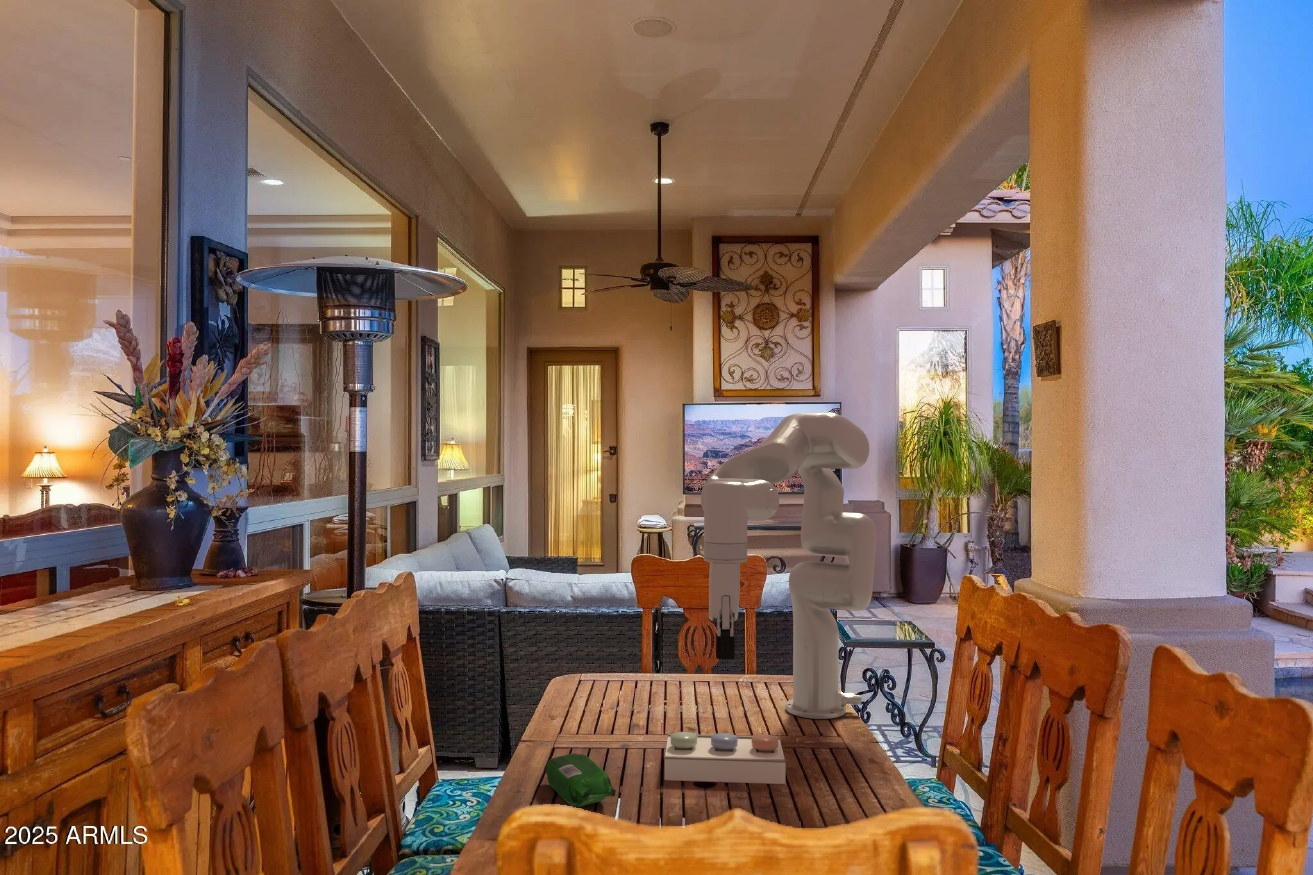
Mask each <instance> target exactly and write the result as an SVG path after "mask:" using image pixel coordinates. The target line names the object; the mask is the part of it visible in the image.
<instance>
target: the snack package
mask: <svg viewBox="0 0 1313 875" xmlns="http://www.w3.org/2000/svg"><path fill="white" fill-rule="evenodd" d="M544 771H545V773H546V778H547V779H546V780H547V782H548V784H549V786H551V788H552V789H553V790H555V792H556V793H557V794H558V795H559V796H560V798H562V799H563V800H564V801H565V802H566V803H567V804H568V805H569V806H571V807H572V806H575V807H578V808H581V807H584V806H587V805H591V804H592V805H593V804H596V803H600V802H602V801H605V799H607V797H611V798H612V797H615V796H616V792H617V789H615V788H614V787H613V785H612V782H611V779H610V778H609V776H608V773H607V772H606V771H605V770H603V769H602V767H600V766H599V765H598V764H597V763H596V762H594V760H593V759H591V758H590V757H589V756H587V755H586V754H584V753H580V752H579V753H577V752H574V753H568V754H564V755H560V756H554V757H553V758H551V759H549V760H548V761H547V763H546V767H545V770H544ZM575 807H574V808H575Z"/></svg>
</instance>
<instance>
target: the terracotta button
mask: <svg viewBox="0 0 1313 875" xmlns="http://www.w3.org/2000/svg"><path fill="white" fill-rule="evenodd" d="M752 736H753V737H752V747H753V748H755V749H758V750H757V752H762V753H772V750H774V749H777V748H778V738H777V737H778V736H776V735H772V734H764V733H763V734H756V735H752Z"/></svg>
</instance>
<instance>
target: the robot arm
mask: <svg viewBox="0 0 1313 875" xmlns="http://www.w3.org/2000/svg"><path fill="white" fill-rule="evenodd" d="M869 455H870V444H869V439H868V436H867V435H866V434H865V432H864V430H862V429H861V428H860V427H859V426H857V425H856V424H855V423H854V422H852V421H851V420H849V419H848V418H846V417H845V416H843V415H840V414H839V413H834V412H807V413H806V412H802V413H793V414H791V415H788V416H786V417H785V418H783V419H782V420H781V421H780V423H778V425H777V426H776V427H775V428H774V430H773V431H772V432H771V433H770V435H768V437H767V438H766V439H765V440H764V441H763V443H761V445H760V446H757V447H754V448H751V449H750V450H749V449H748V450H747V451H745V452H743V453H741V454H739V455H736V456H734V457H732V458H729V459H727V460H726V461H724V462H723V463H721V464H720V465H719V466H718V467H717V468H716V469H715V470H714V471H713V472H712V474H711V475H710V476H709V477H708V478H707V480H706V481H705V483H704V484H703V488H702V490H701V494H700V505H701V507H702V510H703V561H704V562H707V563H709V572H708V617H709V620H710V621H714V619H716V621H717V623H716V624H717V625H716V628H717V629H716V631H717V633H716V634H715V658H716V659H717V660H735V652H736V651H735V650H736V649H735V644H736V642H735V640H736V638H735V636H736V635H735V633H734V622H736V621H737V620H738V618H739V607H740V594H741V592H740V591H741V564H743V563H746V562H748V522H749V521H750V522H763V521H766V520H769V519H770V518H772V517H773V516H774V515H775V514H776V513H777V511H778V509H779V505H780V495H779V492H778V490H777V487H775V485H774V484H778V483H781V482H784V481H787V480H789V479H790V478H792V477H793V476H794V475H795V473H796V472H798V473H799V474H798V475H800V478H801V481H802V485H803V494H804V495H803V504H802V505H803V506H802V515H801V516H802V517H801V527H800V542H801V543H800V544H801V548H802V549H803V550H804V551H805V552H806V553H809V554H811V555H814V556H815V555H816V556H825V557H835V558H846V559H848V563H837V562H832V561H831V562H830V561H817V560H807V561H802V562H799V563H796V564H795V565H794V566H793V567H792V569H791V571H790V573H789V576H788V587H789V588H788V589H789V594H790V595H789V596H790V599H791V607H792V618H793V619H792V620H793V623H792V624H793V625H792V626H793V628H792V629H793V631H792V633H793V638H792V641H793V644H792V646H793V653H792V655H793V656H792V660H793V662H792V668H793V669H792V673H793V674H792V699H789V700H787V701H786V702H785V710H786V711H787V713H789V714H792V715H794V716H797V717H801V718H806V719H811V720H812V719H814V720H829V719H837V718H840V717H842V716H844V715H845V714H846V713H847V712H846V711H847V707H846V706H847V705H853V706H854V705H857V706H861V705H862V696H861V694H860V695H859V694H854V693H853V692H851V693H850V692H849V693H848V692H847V693H845V692H844V693H843V692H842V691H841V689H840V688H839V653H840V652H839V648H840V647H839V641H840V640H839V638H840V635H839V634H840V633H839V626H838V623H837V621H836V619H835V617H834V615H833V613H832V612H831V610H830V609H834V610H842V611H843V610H844V611H852V612H861V611H864V610H866V609H867V608H868V607H869V605H870V603H871V601H872V597H873V589H874V579H875V578H874V576H875V565H876V552H877V532H876V527H875V523H874V521H873V520H872V519H871V517H870V516H868V515H867V514H863V513H861V512H860V513H859V512H844V498H845V497H844V496H845V489H844V487H843V485H842V482H841V481H840V479H839V478H838V476H837V475H836V474H835V473H834V471H833V470H832V469H840V470H841V469H843V470H844V469H850V470H851V469H854V470H855V469H858V468H861V467H863V466H864V465H865V464H866V463H867V460H868V458H869Z"/></svg>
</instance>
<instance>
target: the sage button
mask: <svg viewBox="0 0 1313 875" xmlns="http://www.w3.org/2000/svg"><path fill="white" fill-rule="evenodd" d="M671 734H672V735H671V745H673V746H675V747H677V750H691V747H694V746H696V745H697V735H696V734H697V733H696V734H695V733H693V732H689V731H679V732H674V733H671Z"/></svg>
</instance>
